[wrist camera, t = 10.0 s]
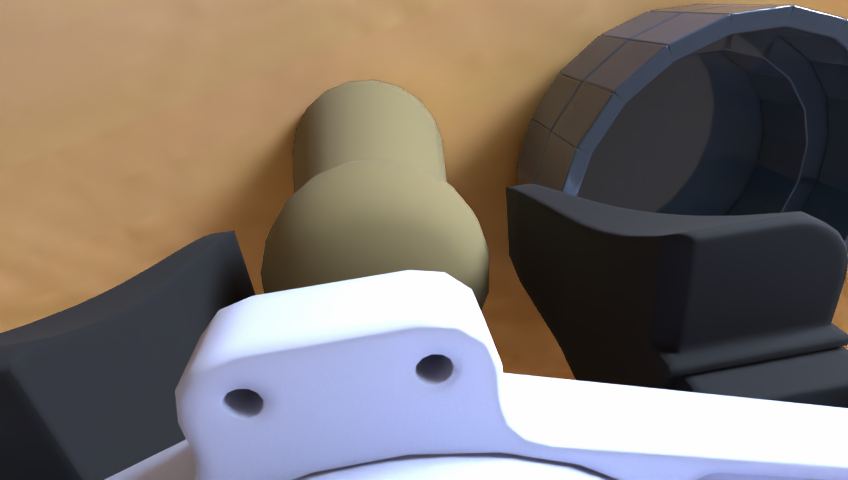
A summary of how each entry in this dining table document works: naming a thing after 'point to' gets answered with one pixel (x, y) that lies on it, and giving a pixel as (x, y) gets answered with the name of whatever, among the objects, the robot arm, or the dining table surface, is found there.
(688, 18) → the blue bowl
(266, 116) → the dining table surface
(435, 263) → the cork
